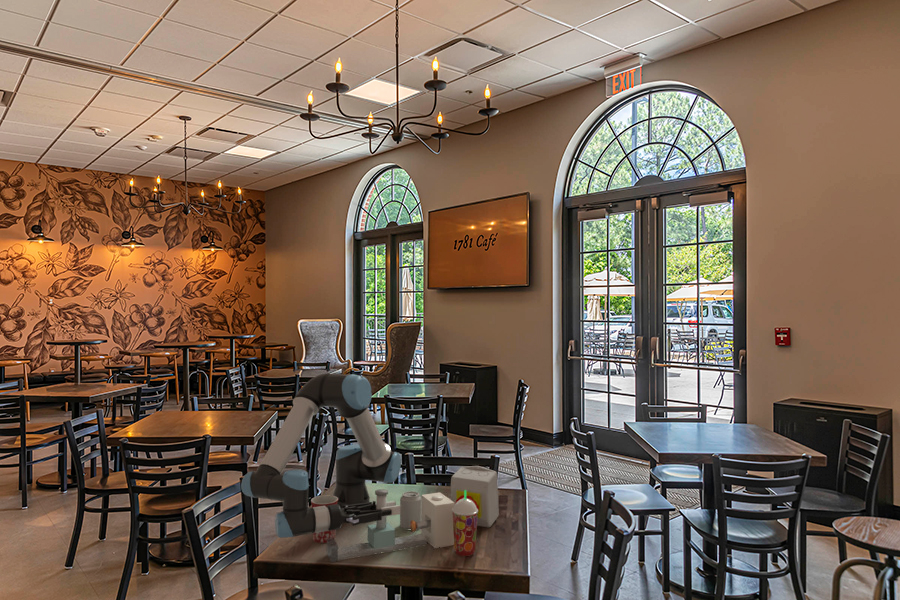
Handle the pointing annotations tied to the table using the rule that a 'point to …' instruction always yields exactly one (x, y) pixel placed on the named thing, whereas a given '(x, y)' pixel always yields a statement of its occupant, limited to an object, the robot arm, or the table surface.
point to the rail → (366, 548)
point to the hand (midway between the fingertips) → (397, 507)
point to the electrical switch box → (477, 491)
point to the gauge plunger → (419, 525)
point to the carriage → (381, 526)
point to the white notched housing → (438, 519)
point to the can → (410, 508)
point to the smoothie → (465, 526)
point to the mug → (326, 501)
